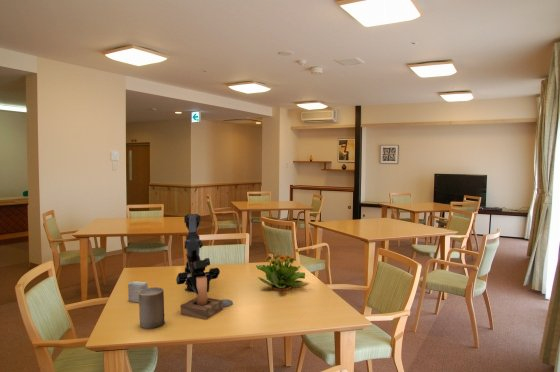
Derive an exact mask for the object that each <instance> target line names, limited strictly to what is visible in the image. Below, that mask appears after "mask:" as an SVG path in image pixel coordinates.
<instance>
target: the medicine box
mask: <svg viewBox="0 0 560 372" xmlns="http://www.w3.org/2000/svg"><path fill="white" fill-rule="evenodd" d="M148 284H149V283H148V282H143V281H136V280H135V281H134V280H133V281H132V282H129V283H128V284H127V285H128V286H127V290H128V291H127V292H128V293H127V294H128V302H131V303H133V302H134V303H139V291H141V290H143V289H146V288H149V287H148V286H149V285H148Z"/></svg>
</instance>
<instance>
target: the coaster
mask: <svg viewBox="0 0 560 372" xmlns="http://www.w3.org/2000/svg"><path fill="white" fill-rule="evenodd" d="M222 300H223V308H227V307H231V306H232V305H233V300H231V299H222Z"/></svg>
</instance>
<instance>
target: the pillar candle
mask: <svg viewBox="0 0 560 372" xmlns="http://www.w3.org/2000/svg"><path fill="white" fill-rule="evenodd" d="M164 298H165V297H164V289H163V288H162V287H148V288H146V289H143V290H141V291H139V302H138V307H139V327H141V328H143V329H148V330H149V329H156V328H159V327H162V326H163V325H165V323H166V322H165V299H164Z"/></svg>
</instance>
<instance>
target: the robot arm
mask: <svg viewBox="0 0 560 372" xmlns="http://www.w3.org/2000/svg"><path fill="white" fill-rule="evenodd" d="M183 219H184V221H183V222H184V224H185V227H186V229H187V231H188V234H187V235H186V236H185V240H184V250H186V254H185V256H186V260H187V261H186V263H185V267H184V271H183V272H179V273H178V274H177V276H176V279H175V282H176V285H178V286H179V285H185V286H186V288H184V291H188V292H189V291H190V292H194V293H195V294H196V295H197V294H198V290H197V283H196V278H197V277H199V276H206V277H207V293H209V291H210V284H211V283H210V282H211V280H216V279H218V277H219V275H220V273H221V271H220V268H219V267H212V268H209V270H208V271H206V268H207V267H208V266H211V261H210V258H209V257H206V258H203V259H201V256H200V250H201V249H202V247H203V246H204V245H203V242H202V240H201V239H200V235H199V234H198V229H199V227H200V223H201V220H202V219H201V214H199V213H187V214H186V215H184V218H183Z"/></svg>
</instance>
